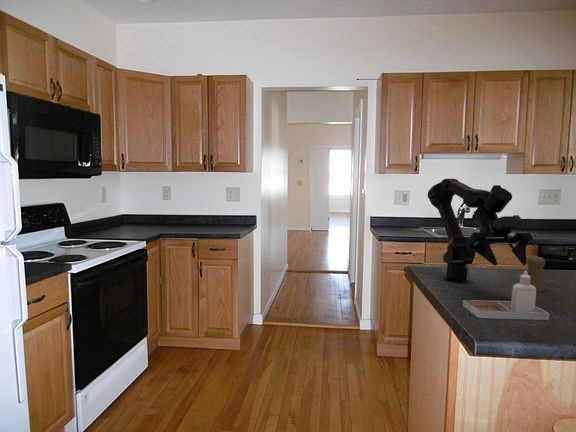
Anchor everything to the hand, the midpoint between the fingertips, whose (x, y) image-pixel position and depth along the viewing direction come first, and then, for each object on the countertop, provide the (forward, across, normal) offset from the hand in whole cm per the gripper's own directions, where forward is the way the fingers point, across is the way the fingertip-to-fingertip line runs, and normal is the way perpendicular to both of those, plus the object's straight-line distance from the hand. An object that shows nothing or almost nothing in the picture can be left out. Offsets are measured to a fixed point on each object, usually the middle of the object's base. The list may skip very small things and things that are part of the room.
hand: (510, 264), depth 113 cm
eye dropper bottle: (+13, 0, +5) cm, 14 cm away
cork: (-2, +21, +20) cm, 29 cm away
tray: (+12, -5, +5) cm, 14 cm away
